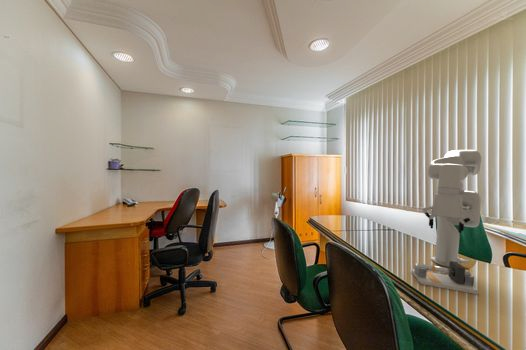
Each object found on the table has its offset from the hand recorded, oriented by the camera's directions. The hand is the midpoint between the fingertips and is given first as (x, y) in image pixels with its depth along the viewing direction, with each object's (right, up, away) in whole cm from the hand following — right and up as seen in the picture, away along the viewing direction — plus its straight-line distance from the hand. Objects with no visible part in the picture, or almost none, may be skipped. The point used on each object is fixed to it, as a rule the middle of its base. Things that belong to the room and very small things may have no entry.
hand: (445, 230), depth 97 cm
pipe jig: (-1, -24, +1) cm, 24 cm away
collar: (+4, -22, -1) cm, 22 cm away
